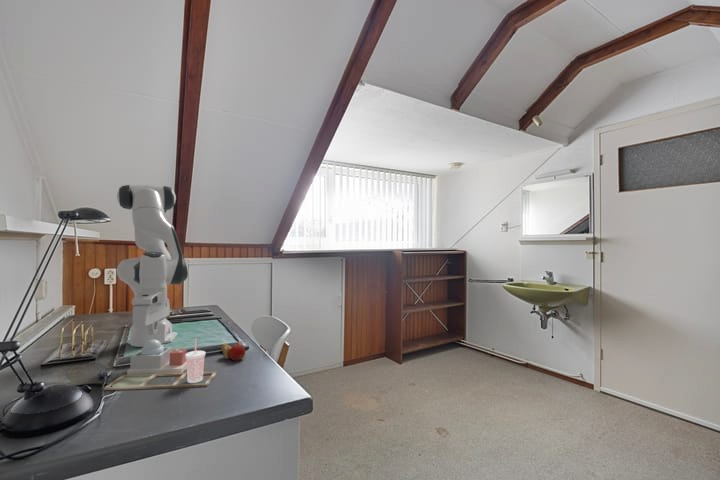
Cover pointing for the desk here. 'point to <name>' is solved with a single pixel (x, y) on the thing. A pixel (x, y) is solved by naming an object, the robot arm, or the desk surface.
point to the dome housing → (158, 362)
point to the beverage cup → (195, 365)
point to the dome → (152, 348)
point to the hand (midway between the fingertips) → (152, 334)
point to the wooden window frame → (142, 379)
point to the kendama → (233, 351)
